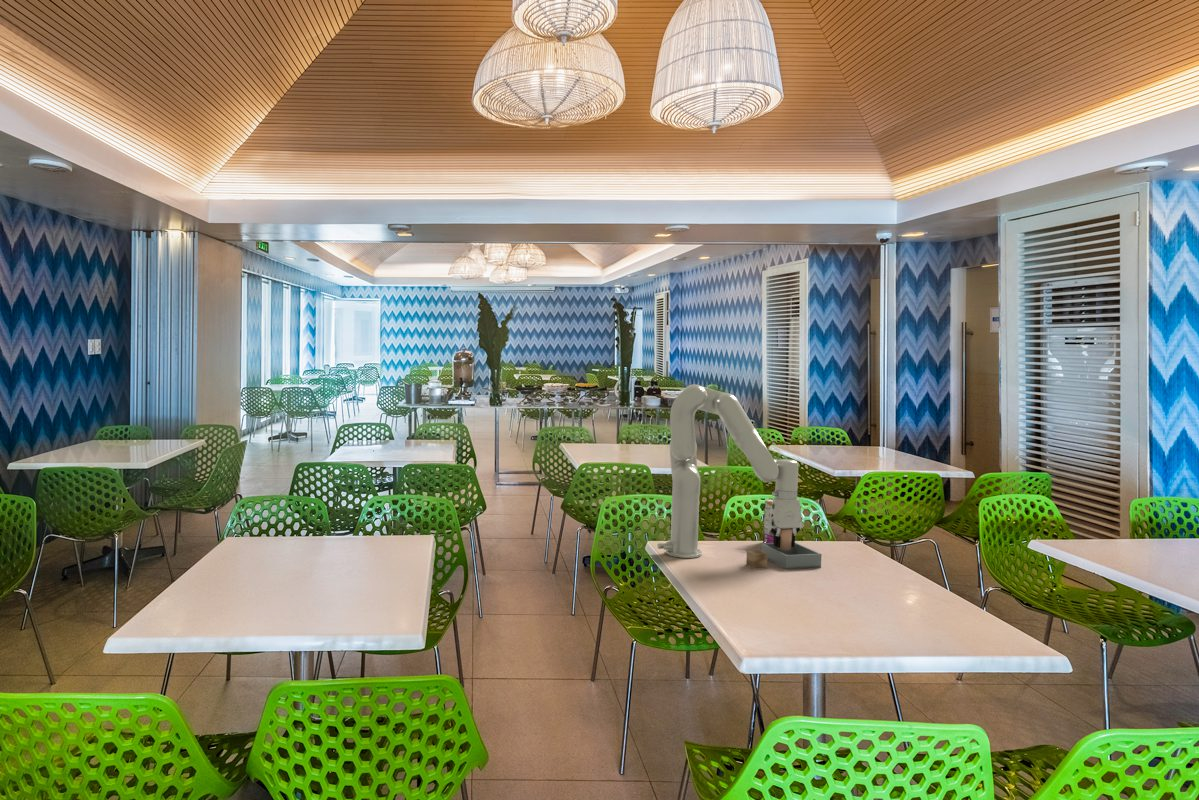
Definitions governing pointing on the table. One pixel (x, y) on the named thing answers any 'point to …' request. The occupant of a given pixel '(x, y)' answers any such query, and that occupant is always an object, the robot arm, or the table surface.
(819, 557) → the grey tote
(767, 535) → the candy bar box
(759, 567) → the walnut cube
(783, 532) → the terracotta cylinder
